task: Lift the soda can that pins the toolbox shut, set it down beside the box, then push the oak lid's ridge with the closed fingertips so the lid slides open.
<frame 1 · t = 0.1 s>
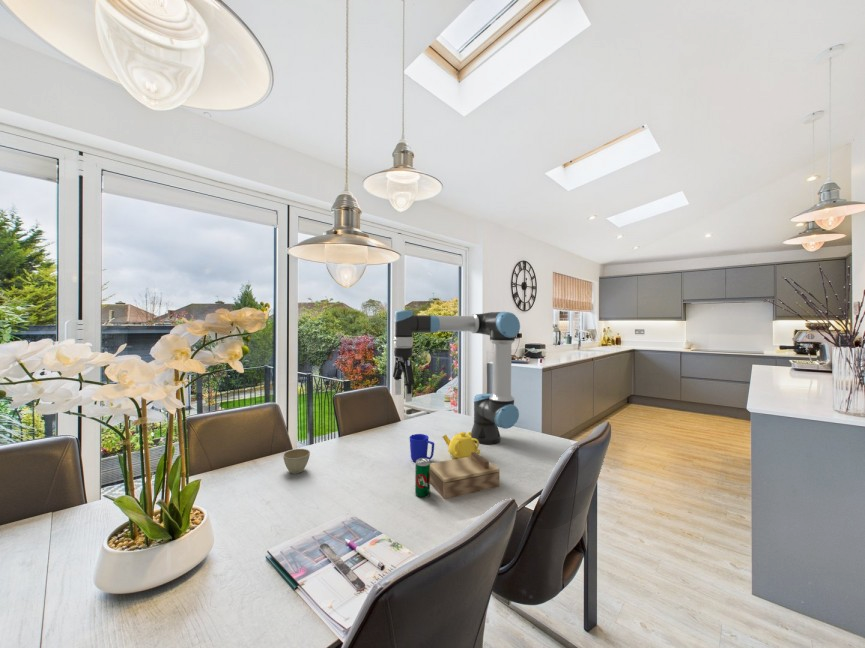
hand: (402, 398, 147), 28 cm above the table, fingers open, 13 cm apart
steel block: (477, 481, 132), point 1 cm above the table, touching toolbox
mug: (422, 461, 152), on the table
soda can: (422, 495, 123), on the table
teapot: (461, 456, 157), on the table
lid: (463, 464, 129), point 8 cm above the table, slide at 0.0 cm
flower pot: (296, 471, 141), on the table
toolbox: (462, 486, 129), on the table
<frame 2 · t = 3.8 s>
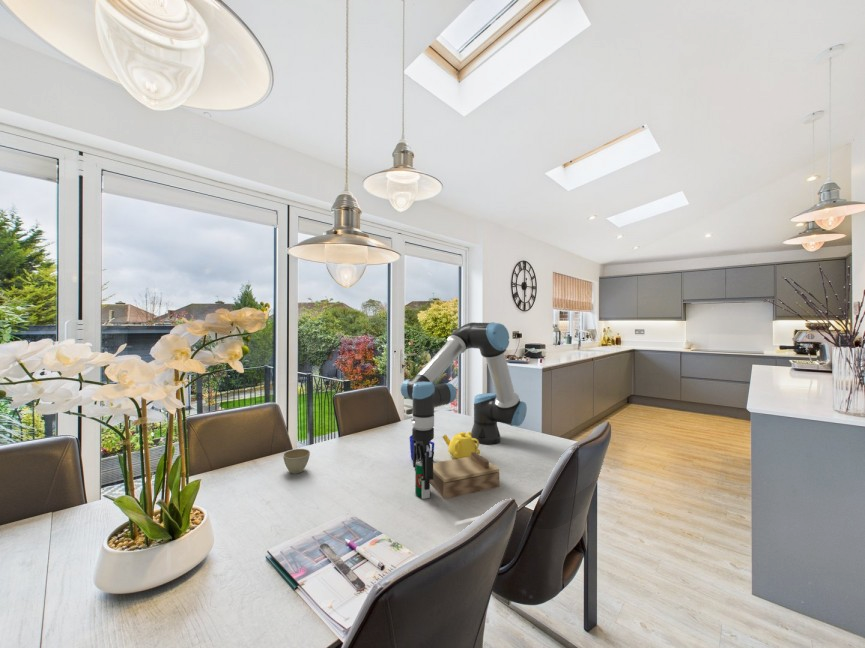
hand: (422, 493, 123), 0 cm above the table, fingers closed on soda can, 5 cm apart
soda can: (422, 495, 123), on the table, touching gripper
everything else where it was.
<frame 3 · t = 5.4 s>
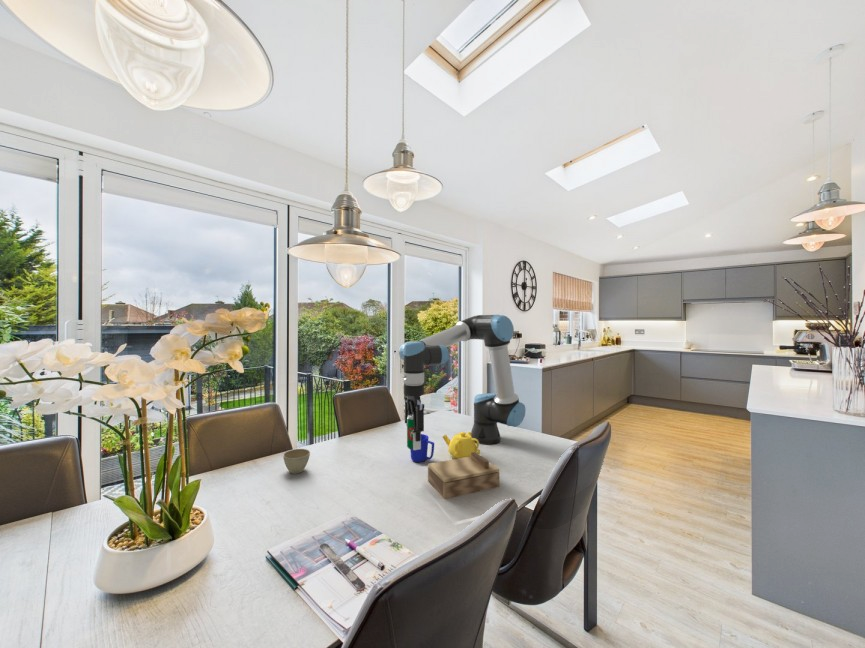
hand: (413, 446, 130), 14 cm above the table, fingers closed on soda can, 5 cm apart
soda can: (413, 448, 130), point 14 cm above the table, touching gripper
everything else where it was.
when the fingers open (2 cm above the table, at t = 7.4 s): soda can drops 1 cm, on the table.
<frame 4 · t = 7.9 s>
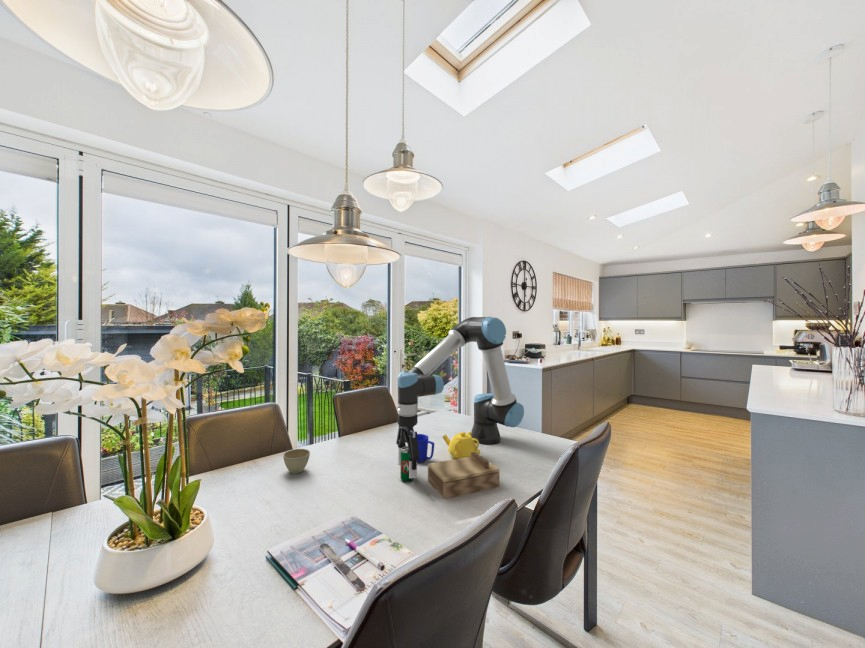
hand: (407, 470, 134), 3 cm above the table, fingers open, 12 cm apart
soda can: (407, 479, 134), on the table
everything else where it was.
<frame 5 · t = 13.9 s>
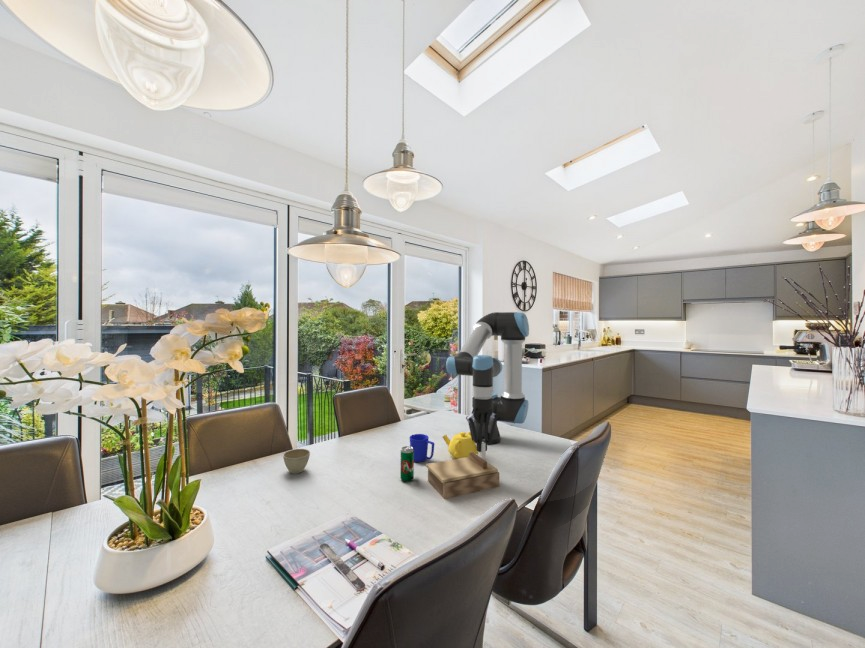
hand: (481, 459, 132), 9 cm above the table, fingers closed
lid: (461, 464, 129), point 8 cm above the table, slide at 0.7 cm, touching gripper
everything else where it was.
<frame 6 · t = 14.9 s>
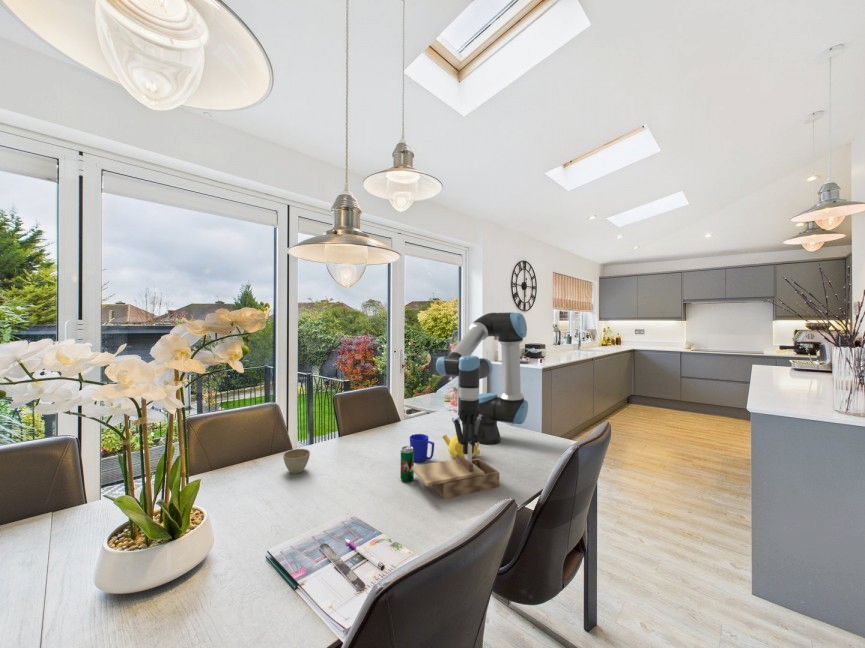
hand: (468, 462, 130), 9 cm above the table, fingers closed
lid: (447, 467, 126), point 8 cm above the table, slide at 6.5 cm, touching gripper
everything else where it was.
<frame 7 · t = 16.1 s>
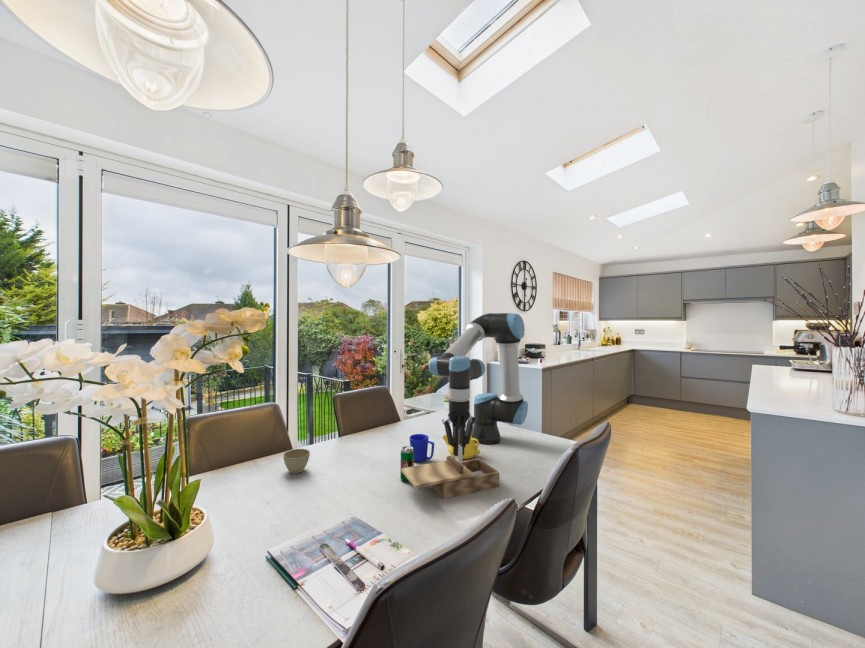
hand: (458, 464, 128), 8 cm above the table, fingers closed
lid: (437, 469, 125), point 8 cm above the table, slide at 10.5 cm, touching gripper
everything else where it was.
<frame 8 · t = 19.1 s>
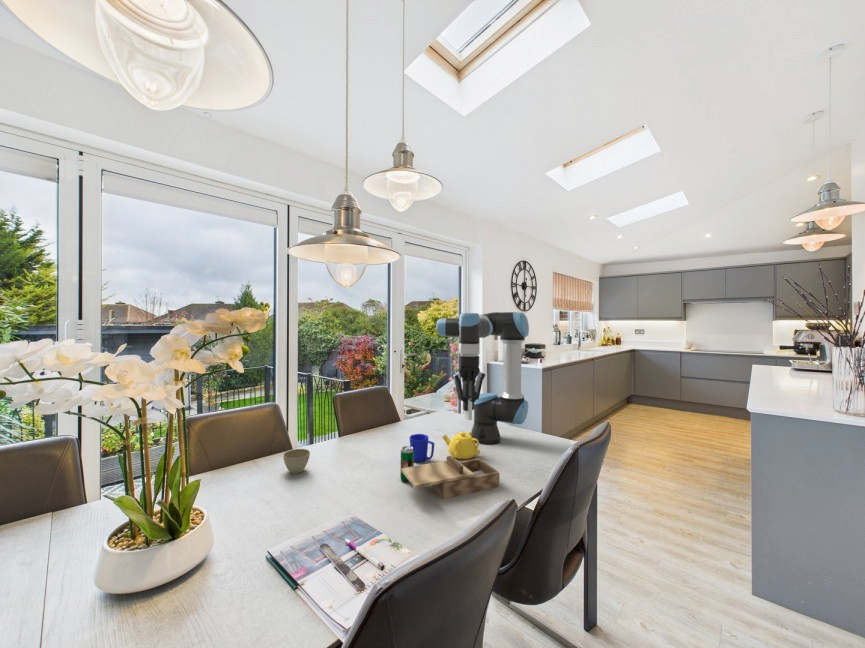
hand: (468, 419, 130), 24 cm above the table, fingers closed
lid: (437, 469, 125), point 8 cm above the table, slide at 10.5 cm
everything else where it was.
at the end: lid slide at 10.5 cm; soda can inside the target area (0.0 cm from its centre), on the table; soda can tilted 0° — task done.
